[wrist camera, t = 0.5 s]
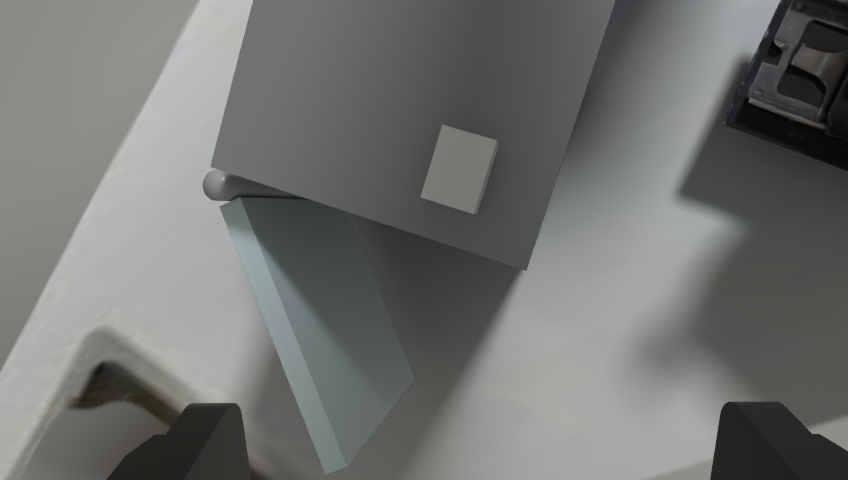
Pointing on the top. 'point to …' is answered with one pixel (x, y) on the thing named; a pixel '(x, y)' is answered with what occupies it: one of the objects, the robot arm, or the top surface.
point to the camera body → (415, 110)
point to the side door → (317, 311)
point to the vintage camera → (799, 82)
